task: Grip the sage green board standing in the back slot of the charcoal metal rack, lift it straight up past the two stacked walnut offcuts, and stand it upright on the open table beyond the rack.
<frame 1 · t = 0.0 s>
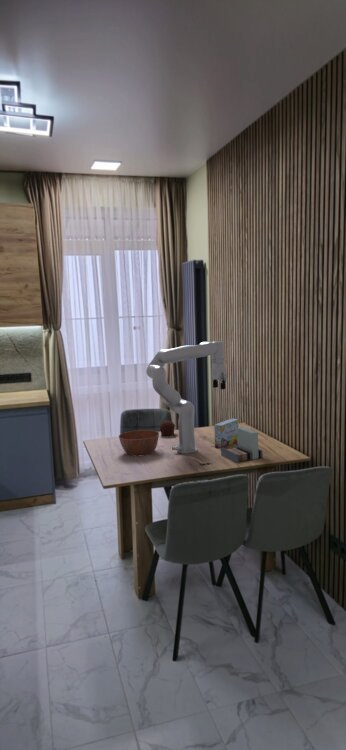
hand: (219, 388, 320), 37 cm above the table, tool pointing down, fingers open, 9 cm apart
lower offcut: (236, 457, 293), point 1 cm above the table, touching offcut rack, upper offcut
upper offcut: (236, 454, 293), point 3 cm above the table, touching lower offcut
snack box: (227, 445, 326), on the table
offcut rack: (241, 458, 295), on the table
muffin: (167, 435, 360), on the table
tall sheet: (248, 455, 296), point 1 cm above the table, touching offcut rack
bowl: (140, 452, 318), on the table
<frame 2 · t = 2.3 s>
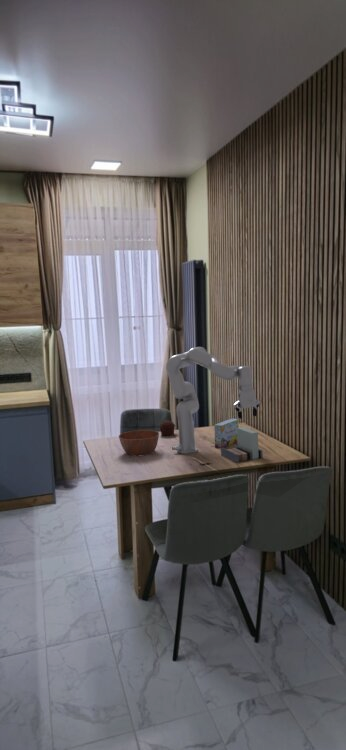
hand: (247, 417, 293), 24 cm above the table, tool pointing down, fingers open, 9 cm apart
nothing on the table moved.
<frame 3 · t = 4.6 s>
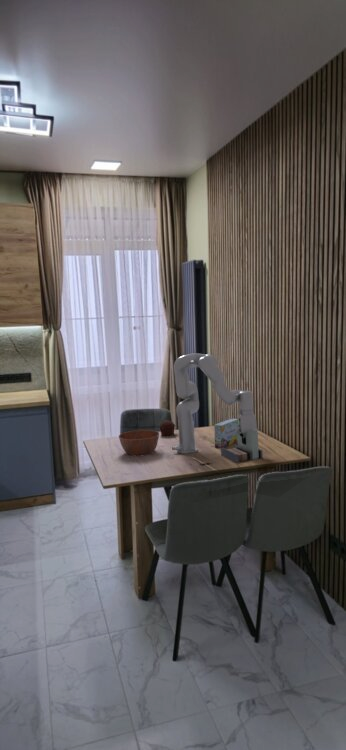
hand: (247, 443, 295), 8 cm above the table, tool pointing down, fingers closed on tall sheet, 4 cm apart
tall sheet: (248, 455, 296), point 1 cm above the table, touching gripper, offcut rack
everything else where it was.
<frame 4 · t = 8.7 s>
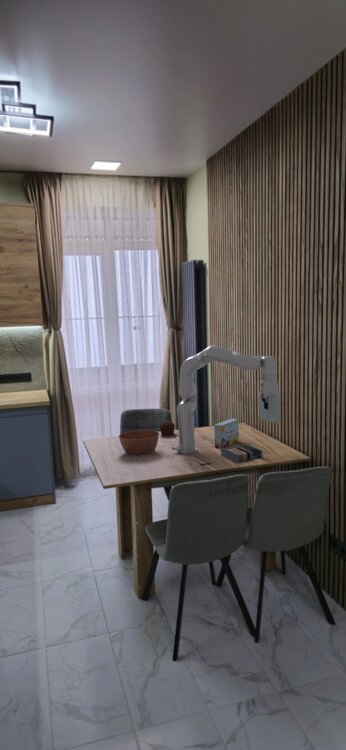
hand: (269, 408, 299), 27 cm above the table, tool pointing down, fingers closed on tall sheet, 4 cm apart
tall sheet: (269, 420, 300), point 20 cm above the table, touching gripper
everything else where it was.
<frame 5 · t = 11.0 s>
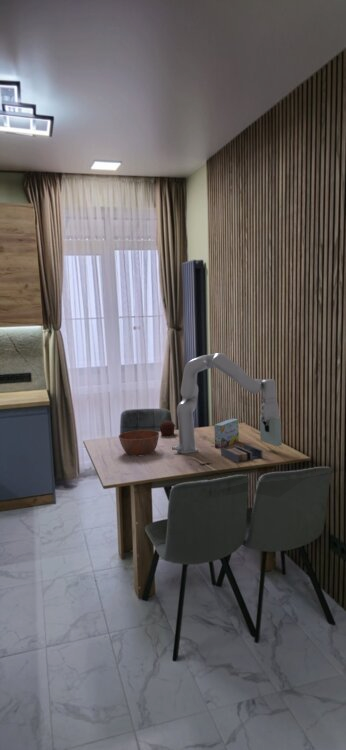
hand: (270, 430, 301), 13 cm above the table, tool pointing down, fingers closed on tall sheet, 4 cm apart
tall sheet: (270, 442, 302), point 6 cm above the table, touching gripper
everything else where it was.
when the fingers open (8 cm above the table, at t = 12.9 s): tall sheet stays where it is, on the table.
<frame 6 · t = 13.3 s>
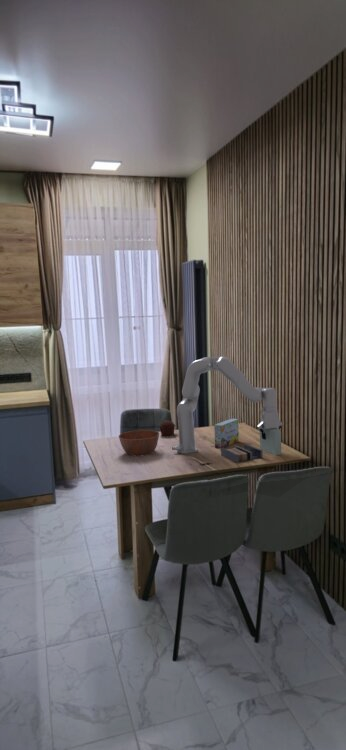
hand: (270, 437, 301), 9 cm above the table, tool pointing down, fingers open, 8 cm apart
tall sheet: (270, 453, 302), on the table
everything else where it was.
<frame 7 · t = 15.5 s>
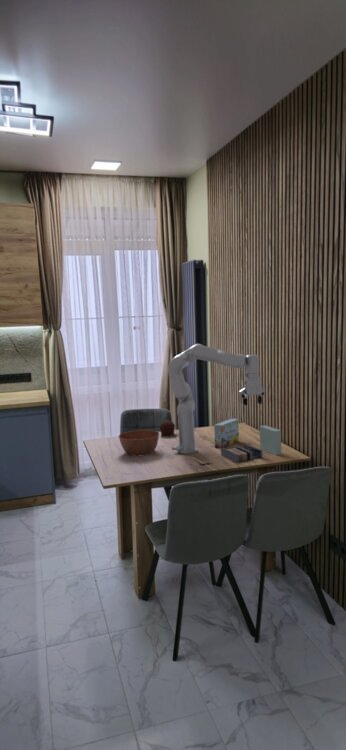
hand: (252, 404, 304), 29 cm above the table, tool pointing down, fingers open, 9 cm apart
nothing on the table moved.
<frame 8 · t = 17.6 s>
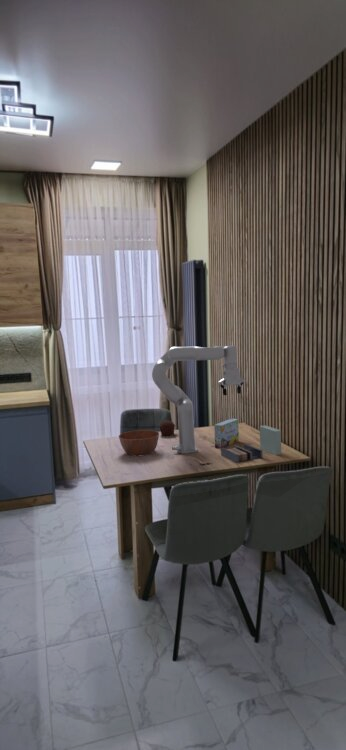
hand: (231, 394, 310), 34 cm above the table, tool pointing down, fingers open, 9 cm apart
nothing on the table moved.
at the end: tall sheet inside the target area (0.1 cm from its centre), on the table; tall sheet tilted 0°; upper offcut moved 0.0 cm from its start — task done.
